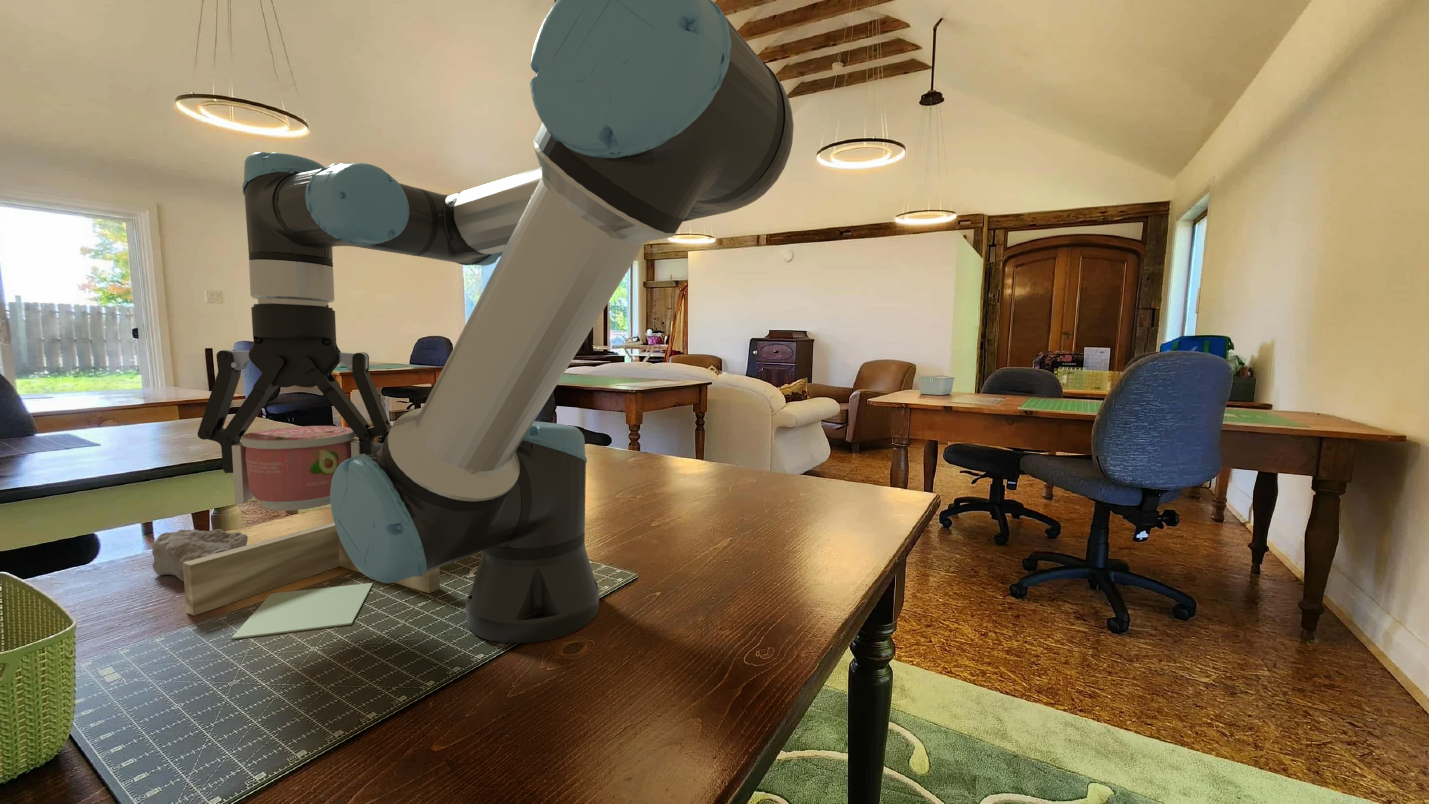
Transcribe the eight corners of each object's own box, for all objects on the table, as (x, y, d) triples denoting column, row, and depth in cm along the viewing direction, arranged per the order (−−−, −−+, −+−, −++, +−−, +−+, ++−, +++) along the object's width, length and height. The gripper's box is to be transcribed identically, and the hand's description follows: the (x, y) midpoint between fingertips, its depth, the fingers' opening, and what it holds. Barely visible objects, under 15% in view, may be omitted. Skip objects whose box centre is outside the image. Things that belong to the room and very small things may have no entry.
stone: (214, 587, 72) (210, 543, 71) (127, 590, 71) (122, 545, 70) (257, 562, 80) (254, 522, 79) (180, 564, 79) (176, 523, 78)
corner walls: (439, 588, 74) (438, 543, 73) (287, 656, 57) (284, 599, 57) (343, 560, 82) (342, 519, 81) (186, 612, 65) (182, 562, 65)
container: (230, 518, 59) (225, 442, 58) (261, 493, 68) (257, 427, 67) (350, 509, 63) (347, 438, 62) (363, 486, 73) (360, 424, 72)
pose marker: (372, 584, 74) (372, 582, 74) (351, 624, 64) (351, 622, 64) (271, 594, 70) (271, 593, 70) (231, 639, 60) (231, 637, 60)
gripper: (414, 310, 71) (419, 483, 73) (181, 300, 63) (195, 495, 65) (404, 307, 64) (410, 499, 66) (141, 295, 56) (158, 514, 58)
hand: (303, 497), depth 66 cm, fingers closed on container, 10 cm apart
